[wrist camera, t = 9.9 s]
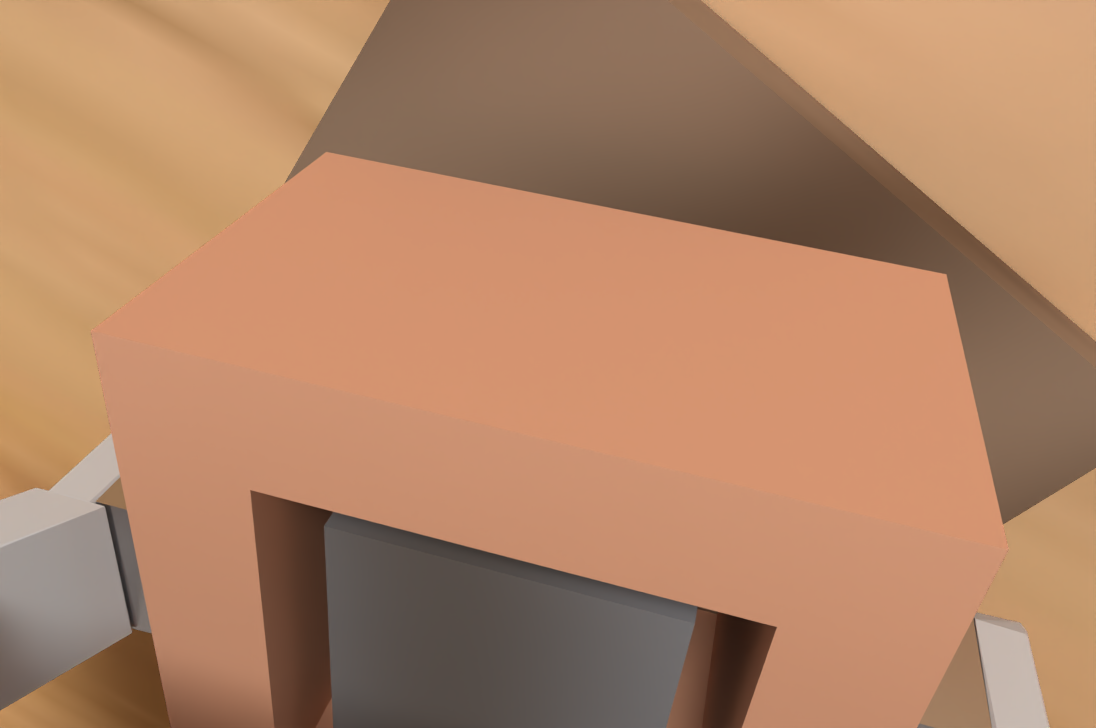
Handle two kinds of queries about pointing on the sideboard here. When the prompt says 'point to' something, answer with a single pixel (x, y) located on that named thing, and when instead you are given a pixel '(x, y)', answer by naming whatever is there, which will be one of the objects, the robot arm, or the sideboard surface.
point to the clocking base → (666, 192)
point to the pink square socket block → (551, 440)
